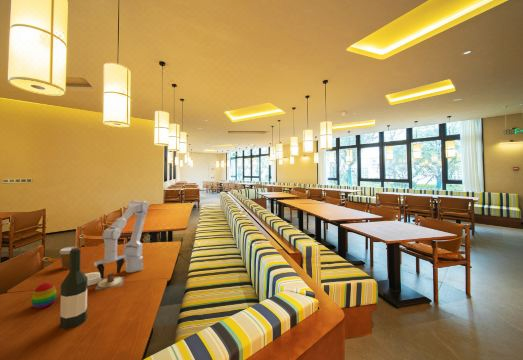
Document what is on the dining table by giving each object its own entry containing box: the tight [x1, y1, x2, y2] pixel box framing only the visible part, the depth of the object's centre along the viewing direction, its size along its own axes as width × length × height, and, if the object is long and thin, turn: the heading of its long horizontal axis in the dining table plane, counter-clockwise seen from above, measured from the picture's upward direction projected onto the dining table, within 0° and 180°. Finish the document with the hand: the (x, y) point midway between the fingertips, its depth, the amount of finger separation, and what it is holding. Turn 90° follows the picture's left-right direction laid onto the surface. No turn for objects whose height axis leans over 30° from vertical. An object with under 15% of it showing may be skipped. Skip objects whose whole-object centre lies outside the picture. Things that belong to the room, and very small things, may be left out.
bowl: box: [84, 271, 103, 287], centre depth 122 cm, size 10×10×4 cm
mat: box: [94, 275, 125, 291], centre depth 121 cm, size 12×12×1 cm
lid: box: [98, 273, 122, 289], centre depth 121 cm, size 11×11×4 cm
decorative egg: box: [31, 282, 58, 309], centre depth 101 cm, size 8×8×10 cm
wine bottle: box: [59, 246, 88, 330], centre depth 89 cm, size 8×8×30 cm
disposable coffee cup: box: [58, 246, 76, 270], centre depth 142 cm, size 10×10×12 cm
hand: (110, 275), depth 121 cm, fingers open, 7 cm apart
